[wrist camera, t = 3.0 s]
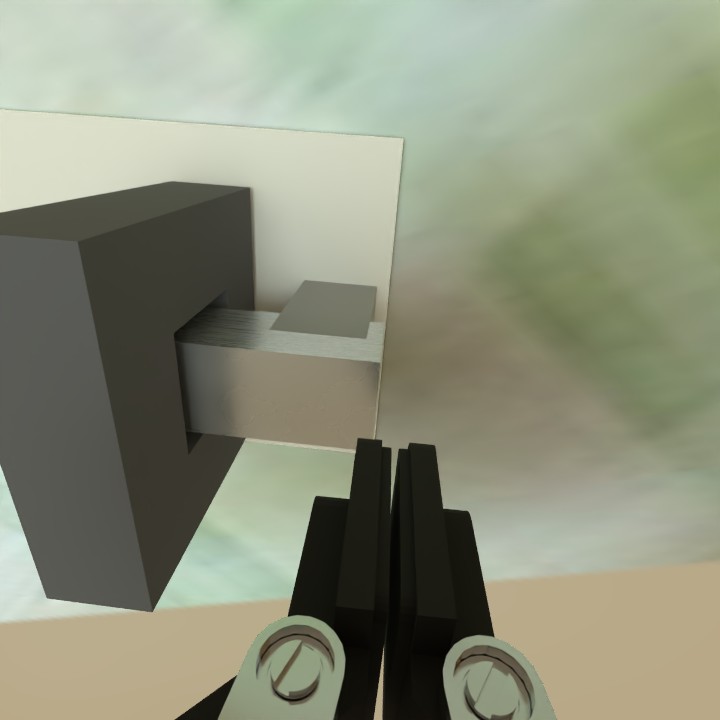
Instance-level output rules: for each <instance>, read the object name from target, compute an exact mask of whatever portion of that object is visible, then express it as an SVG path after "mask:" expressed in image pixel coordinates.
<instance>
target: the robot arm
mask: <svg viewBox="0 0 720 720" xmlns="http://www.w3.org/2000/svg"><path fill="white" fill-rule="evenodd" d="M390 510H391V515H390ZM383 648H384V674H383V720H557V718H556V715H555V713H554V710H553V708H552V705H551V703H550V701H549V698H548V696H547V693H546V691H545V688H544V686H543V683H542V681H541V679H540V678H539V676H538V674H537V672H536V670H535V668H534V667H533V666H532V664H531V663H530V662H529V661H528V660H527V659H526V657H525V656H524V655H523V654H522V653H521V652H520V651H518V650H517V649H515V648H514V647H513V646H511V645H510V644H508V643H506V642H504V641H501V640H499V639H497V638H495V637H494V633H493V628H492V622H491V617H490V612H489V607H488V602H487V596H486V591H485V586H484V581H483V576H482V571H481V566H480V561H479V556H478V551H477V546H476V541H475V535H474V530H473V525H472V520H471V517H470V514H469V512H468V511H461V510H451V509H443V504H442V496H441V488H440V480H439V472H438V464H437V456H436V449H435V446H434V445H428V444H417V443H409V446H408V449H399V452H398V459H397V467H396V475H395V483H394V491H393V499H392V507H391V448H389V447H382V440H376V439H365V438H357V446H356V453H355V461H354V469H353V476H352V484H351V492H350V499H342V498H332V497H322V496H316V497H315V500H314V503H313V507H312V512H311V516H310V521H309V525H308V529H307V534H306V538H305V543H304V547H303V551H302V556H301V560H300V565H299V569H298V573H297V578H296V582H295V587H294V591H293V595H292V600H291V604H290V609H289V613H288V617H285V618H282V619H280V620H278V621H276V622H274V623H272V624H270V625H268V626H267V627H266V628H265V629H264V630H263V631H262V632H261V633H260V634H258V636H257V637H256V639H255V640H254V642H253V644H252V645H251V647H250V648H249V650H248V652H247V655H246V657H245V659H244V661H243V664H242V666H241V669H240V670H239V673H238V675H236V676H235V677H234V678H232V679H231V680H229V681H228V682H227V683H225V684H224V685H223V686H221V687H220V688H218V689H217V690H216V691H214V692H213V693H211V694H210V695H209V696H207V697H206V698H205V699H203V700H202V701H200V702H199V703H197V704H196V705H195V706H193V707H192V708H191V709H189V710H188V711H186V712H185V713H184V714H182V715H181V716H179V717H178V718H177V719H175V720H373V719H374V712H375V705H376V698H377V691H378V683H379V677H380V669H381V662H382V655H383Z"/></svg>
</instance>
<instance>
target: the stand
mask: <svg viewBox="0 0 720 720" xmlns="http://www.w3.org/2000/svg"><path fill="white" fill-rule="evenodd" d="M403 141H404V138H390V137H376V136H362V135H349V134H335V133H321V132H307V131H293V130H280V129H266V128H252V127H238V126H224V125H211V124H197V123H183V122H169V121H156V120H142V119H128V118H114V117H100V116H87V115H73V114H59V113H45V112H31V111H18V110H4V109H0V213H1V212H6V211H11V210H17V209H22V208H28V207H33V206H39V205H44V204H50V203H55V202H61V201H66V200H71V199H77V198H82V197H88V196H93V195H99V194H104V193H110V192H115V191H121V190H126V189H131V188H137V187H142V186H148V185H153V184H159V183H164V182H170V181H176V182H189V183H201V184H214V185H226V186H239V187H250V200H251V226H252V253H253V280H254V307H255V311H265V312H275V313H281V314H280V315H279V316H278V318H277V319H276V320H275V322H274V323H273V325H272V326H271V327H270V329H269V330H276V331H287V332H297V333H308V334H318V335H328V336H339V337H349V338H359V339H367V334H368V329H369V324H370V321H371V322H381V323H385V328H386V318H387V308H388V297H389V287H390V276H391V266H392V256H393V245H394V235H395V224H396V214H397V204H398V193H399V183H400V172H401V162H402V152H403ZM384 339H385V329H384ZM383 349H384V340H383ZM382 359H383V350H382ZM381 370H382V361H381ZM380 380H381V371H380ZM379 391H380V382H379ZM378 401H379V392H378ZM377 411H378V402H377ZM377 411H376V420H375V429H374V438H373V439H375V432H376V422H377ZM245 441H248V442H257V443H266V444H275V445H284V446H293V447H302V448H311V449H320V450H329V451H338V452H348V453H356V450H352V449H343V448H333V447H324V446H315V445H306V444H297V443H288V442H279V441H270V440H260V439H251V438H246V439H245Z"/></svg>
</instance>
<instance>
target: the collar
mask: <svg viewBox="0 0 720 720" xmlns="http://www.w3.org/2000/svg"><path fill="white" fill-rule="evenodd" d="M206 306H212V307H222V308H233V309H243V310H254V311H255V307H254V280H253V253H252V226H251V200H250V187H239V186H226V185H214V184H201V183H189V182H176V181H170V182H164V183H159V184H153V185H148V186H142V187H137V188H131V189H126V190H121V191H115V192H110V193H104V194H99V195H93V196H88V197H82V198H77V199H71V200H66V201H61V202H55V203H50V204H44V205H39V206H33V207H28V208H22V209H17V210H11V211H6V212H1V213H0V465H1V467H2V470H3V473H4V476H5V479H6V482H7V485H8V488H9V490H10V493H11V496H12V499H13V502H14V505H15V508H16V511H17V513H18V516H19V519H20V522H21V525H22V528H23V531H24V534H25V536H26V539H27V542H28V545H29V548H30V551H31V554H32V557H33V560H34V562H35V565H36V568H37V571H38V574H39V577H40V580H41V583H42V585H43V588H44V591H45V594H46V597H47V598H49V599H56V600H64V601H71V602H79V603H86V604H94V605H102V606H109V607H117V608H124V609H132V610H140V611H147V612H153V610H154V608H155V606H156V605H157V603H158V601H159V599H160V597H161V595H162V593H163V592H164V590H165V588H166V586H167V584H168V582H169V580H170V579H171V577H172V575H173V573H174V571H175V569H176V567H177V565H178V564H179V562H180V560H181V558H182V556H183V554H184V552H185V551H186V549H187V547H188V545H189V543H190V541H191V539H192V538H193V536H194V534H195V532H196V530H197V528H198V526H199V524H200V523H201V521H202V519H203V517H204V515H205V513H206V511H207V510H208V508H209V506H210V504H211V502H212V500H213V498H214V497H215V495H216V493H217V491H218V489H219V487H220V485H221V484H222V482H223V480H224V478H225V476H226V474H227V472H228V470H229V469H230V467H231V465H232V463H233V461H234V459H235V457H236V456H237V454H238V452H239V450H240V448H241V446H242V444H243V443H244V441H245V439H246V438H242V437H233V436H224V435H215V434H206V433H197V432H187V431H185V423H184V415H183V406H182V398H181V390H180V382H179V374H178V365H177V357H176V349H175V341H174V333H175V332H176V331H177V330H178V329H179V328H181V327H182V326H183V325H184V324H185V323H187V322H188V321H189V320H190V319H191V318H193V317H194V316H195V315H196V314H197V313H198V312H200V311H201V310H202V309H203V308H204V307H206Z"/></svg>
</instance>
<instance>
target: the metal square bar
mask: <svg viewBox="0 0 720 720" xmlns="http://www.w3.org/2000/svg"><path fill="white" fill-rule="evenodd" d="M280 314H281V313H275V312H265V311H254V310H243V309H233V308H222V307H212V306H206V307H204V308H203V309H202V310H201V311H200V312H198V313H197V314H196V315H195V316H194V317H193V318H191V319H190V320H189V321H188V322H187V323H185V324H184V325H183V326H182V327H181V328H179V329H178V330H177V331H176V332H175V333H174V341H175V349H176V357H177V365H178V374H179V382H180V390H181V398H182V406H183V415H184V423H185V431H187V432H197V433H206V434H215V435H224V436H233V437H242V438H251V439H260V440H270V441H279V442H288V443H297V444H306V445H315V446H324V447H333V448H343V449H352V450H356V446H357V438H365V439H373V438H374V429H375V420H376V411H377V402H378V392H379V382H380V371H381V361H382V350H383V340H384V329H385V323H381V322H371V321H370V324H369V329H368V334H367V339H359V338H349V337H339V336H328V335H318V334H308V333H297V332H287V331H276V330H269V329H270V327H271V326H272V325H273V323H274V322H275V320H276V319H277V318H278V316H279V315H280Z"/></svg>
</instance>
